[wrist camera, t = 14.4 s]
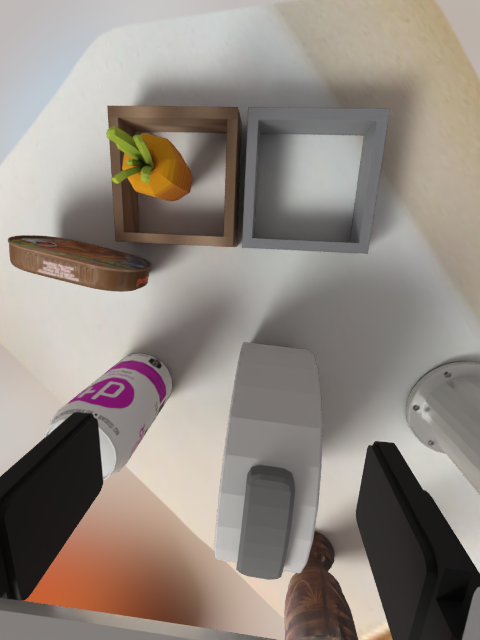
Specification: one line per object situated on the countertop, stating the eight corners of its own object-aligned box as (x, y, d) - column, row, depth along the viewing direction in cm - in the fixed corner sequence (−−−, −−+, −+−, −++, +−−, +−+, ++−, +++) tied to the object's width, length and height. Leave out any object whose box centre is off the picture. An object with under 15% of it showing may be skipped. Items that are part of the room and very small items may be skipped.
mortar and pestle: (314, 504, 45) (347, 705, 25) (362, 533, 45) (431, 752, 26) (271, 552, 48) (271, 763, 28) (316, 578, 48) (347, 804, 29)
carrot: (208, 206, 35) (165, 182, 21) (167, 212, 36) (98, 193, 21) (202, 159, 34) (151, 100, 20) (159, 166, 35) (81, 114, 20)
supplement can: (118, 346, 41) (35, 404, 27) (177, 358, 41) (126, 423, 26) (114, 399, 43) (36, 479, 29) (170, 410, 43) (120, 497, 28)
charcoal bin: (375, 124, 32) (389, 108, 28) (357, 252, 35) (367, 253, 31) (251, 122, 33) (248, 107, 29) (245, 246, 36) (242, 247, 32)
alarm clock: (247, 325, 39) (224, 408, 19) (306, 331, 38) (342, 424, 19) (233, 464, 44) (205, 635, 25) (284, 472, 44) (295, 652, 25)
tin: (161, 262, 38) (131, 268, 30) (157, 286, 38) (127, 299, 30) (46, 233, 38) (-14, 231, 30) (45, 257, 39) (-14, 262, 31)
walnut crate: (241, 122, 33) (238, 107, 29) (236, 246, 36) (232, 247, 32) (126, 121, 34) (107, 105, 30) (131, 241, 37) (115, 241, 33)
